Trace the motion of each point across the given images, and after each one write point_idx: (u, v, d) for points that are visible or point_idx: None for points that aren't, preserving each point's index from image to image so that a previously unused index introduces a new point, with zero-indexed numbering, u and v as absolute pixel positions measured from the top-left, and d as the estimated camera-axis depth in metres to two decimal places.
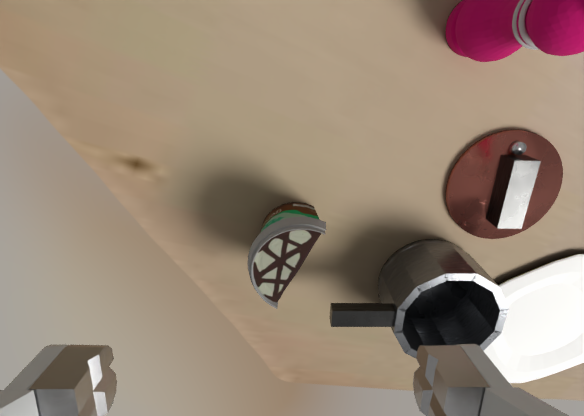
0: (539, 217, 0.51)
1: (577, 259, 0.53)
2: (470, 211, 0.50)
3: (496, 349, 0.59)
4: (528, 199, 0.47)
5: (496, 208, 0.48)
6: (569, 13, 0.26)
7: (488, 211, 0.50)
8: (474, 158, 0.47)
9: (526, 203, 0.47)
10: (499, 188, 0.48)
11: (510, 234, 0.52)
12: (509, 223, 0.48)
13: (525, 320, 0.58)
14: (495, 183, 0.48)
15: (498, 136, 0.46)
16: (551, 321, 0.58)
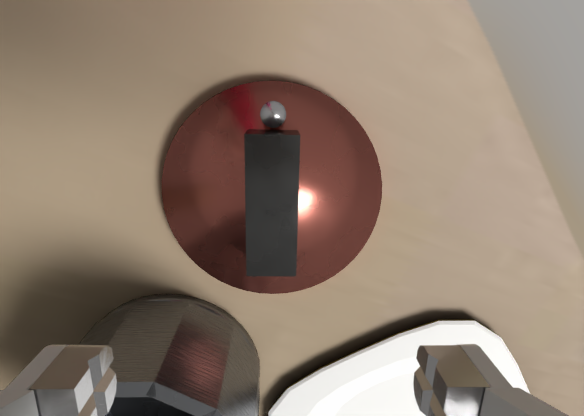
0: (353, 253, 0.27)
1: (439, 330, 0.29)
2: (216, 242, 0.26)
3: None
4: (295, 217, 0.23)
5: None
6: None
7: None
8: (196, 136, 0.24)
9: (292, 226, 0.23)
10: None
11: (305, 285, 0.28)
12: (268, 266, 0.24)
13: None
14: None
15: (234, 91, 0.23)
16: None
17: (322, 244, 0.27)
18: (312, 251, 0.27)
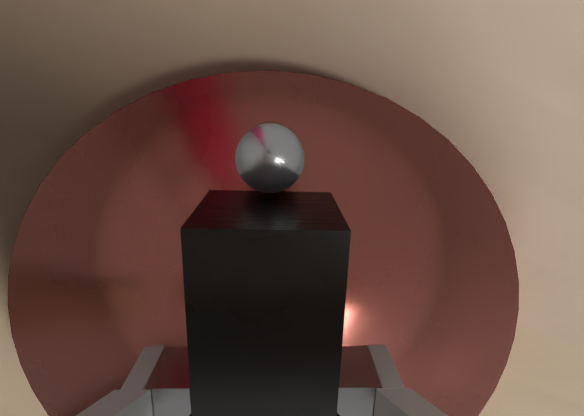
0: None
1: None
2: None
3: None
4: None
5: None
6: None
7: None
8: (82, 208, 0.10)
9: None
10: None
11: None
12: None
13: None
14: None
15: (170, 96, 0.09)
16: None
17: None
18: None
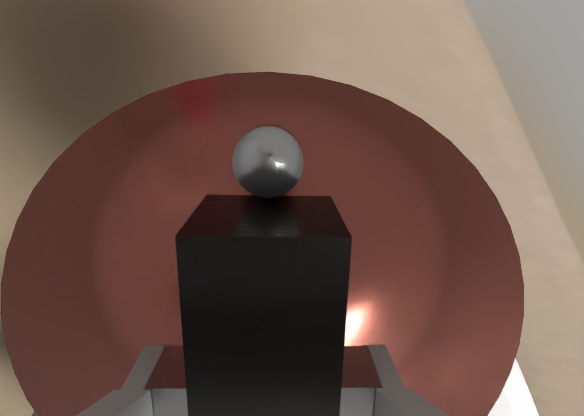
0: None
1: None
2: None
3: None
4: None
5: None
6: None
7: None
8: (76, 213, 0.10)
9: None
10: None
11: None
12: None
13: None
14: None
15: (165, 99, 0.09)
16: None
17: None
18: None
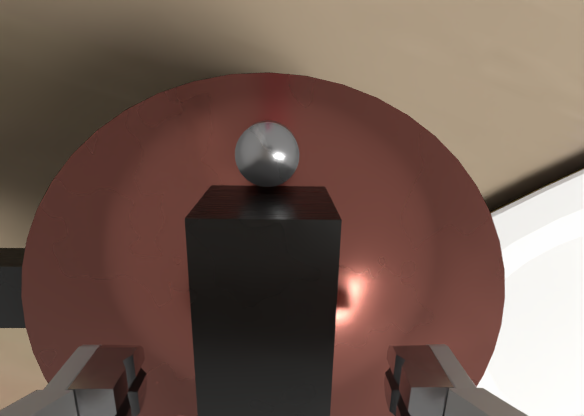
0: None
1: None
2: (151, 412, 0.13)
3: None
4: (322, 413, 0.09)
5: None
6: None
7: None
8: (91, 203, 0.10)
9: None
10: None
11: None
12: None
13: (538, 329, 0.24)
14: None
15: (173, 97, 0.10)
16: None
17: (372, 413, 0.13)
18: None
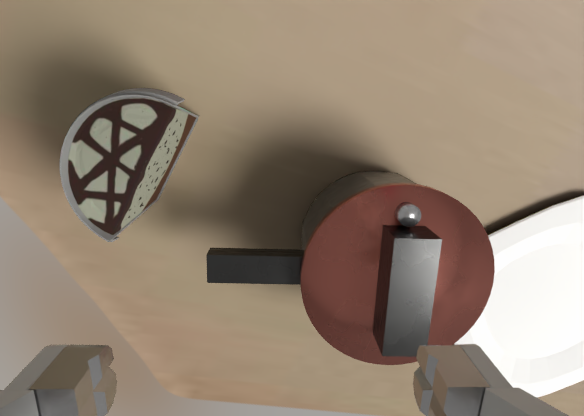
0: (464, 330, 0.30)
1: (583, 203, 0.37)
2: (344, 319, 0.29)
3: None
4: (430, 306, 0.26)
5: (380, 318, 0.27)
6: None
7: (374, 320, 0.29)
8: (337, 231, 0.28)
9: (427, 313, 0.26)
10: (382, 284, 0.27)
11: None
12: (402, 347, 0.27)
13: (517, 302, 0.41)
14: (379, 273, 0.28)
15: (373, 194, 0.27)
16: (555, 304, 0.41)
17: (437, 322, 0.30)
18: None
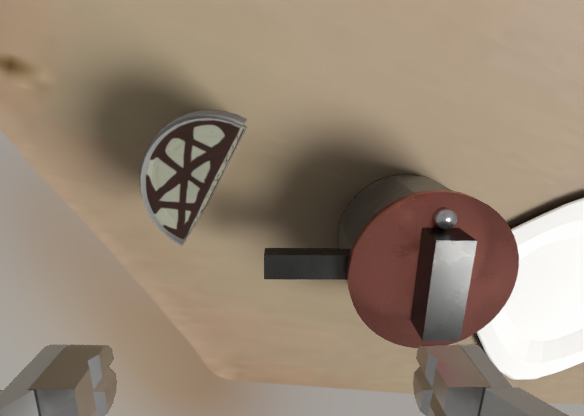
0: (491, 317, 0.34)
1: None
2: (386, 310, 0.34)
3: (497, 331, 0.45)
4: (465, 298, 0.30)
5: (420, 309, 0.32)
6: None
7: (412, 310, 0.33)
8: (381, 233, 0.31)
9: (462, 304, 0.30)
10: (421, 279, 0.31)
11: (450, 341, 0.35)
12: (440, 333, 0.31)
13: (532, 290, 0.45)
14: (418, 269, 0.32)
15: (414, 200, 0.31)
16: (566, 291, 0.45)
17: (468, 310, 0.34)
18: None
